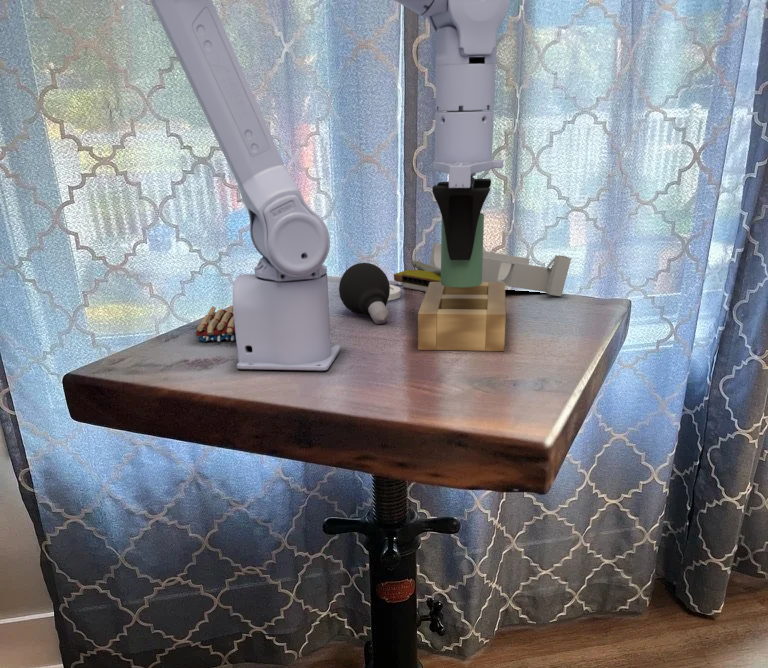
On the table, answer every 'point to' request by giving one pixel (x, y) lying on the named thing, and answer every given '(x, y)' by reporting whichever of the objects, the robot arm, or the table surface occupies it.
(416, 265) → the stone
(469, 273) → the bottle
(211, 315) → the woven mat
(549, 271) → the skate ramp
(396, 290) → the pendant
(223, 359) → the table surface
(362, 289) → the light bulb
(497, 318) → the hole block
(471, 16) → the robot arm
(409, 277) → the harmonica
